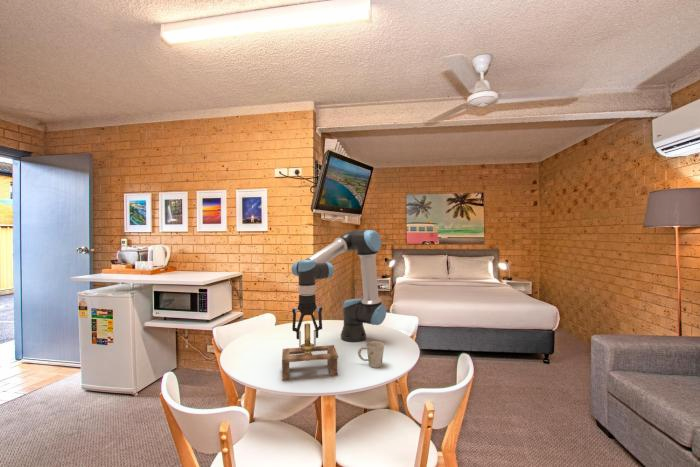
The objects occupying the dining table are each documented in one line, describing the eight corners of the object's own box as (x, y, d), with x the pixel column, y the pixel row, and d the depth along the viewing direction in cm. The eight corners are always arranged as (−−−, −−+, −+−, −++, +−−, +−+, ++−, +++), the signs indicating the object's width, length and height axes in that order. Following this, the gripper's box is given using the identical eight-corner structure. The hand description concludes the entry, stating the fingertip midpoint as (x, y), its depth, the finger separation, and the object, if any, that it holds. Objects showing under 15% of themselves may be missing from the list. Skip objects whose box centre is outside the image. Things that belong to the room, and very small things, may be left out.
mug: (383, 369, 148) (383, 347, 148) (356, 367, 151) (356, 345, 151) (385, 362, 156) (384, 341, 157) (359, 360, 159) (359, 340, 159)
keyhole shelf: (333, 363, 155) (333, 345, 156) (338, 376, 142) (338, 355, 142) (282, 368, 151) (282, 348, 151) (282, 381, 137) (282, 359, 137)
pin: (313, 356, 150) (313, 322, 150) (314, 361, 144) (314, 325, 144) (300, 357, 148) (300, 322, 149) (301, 362, 143) (300, 326, 143)
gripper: (326, 292, 152) (327, 341, 152) (285, 293, 148) (286, 344, 148) (328, 294, 145) (329, 346, 144) (285, 296, 141) (286, 350, 141)
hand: (307, 345), depth 146 cm, fingers closed on pin, 6 cm apart
